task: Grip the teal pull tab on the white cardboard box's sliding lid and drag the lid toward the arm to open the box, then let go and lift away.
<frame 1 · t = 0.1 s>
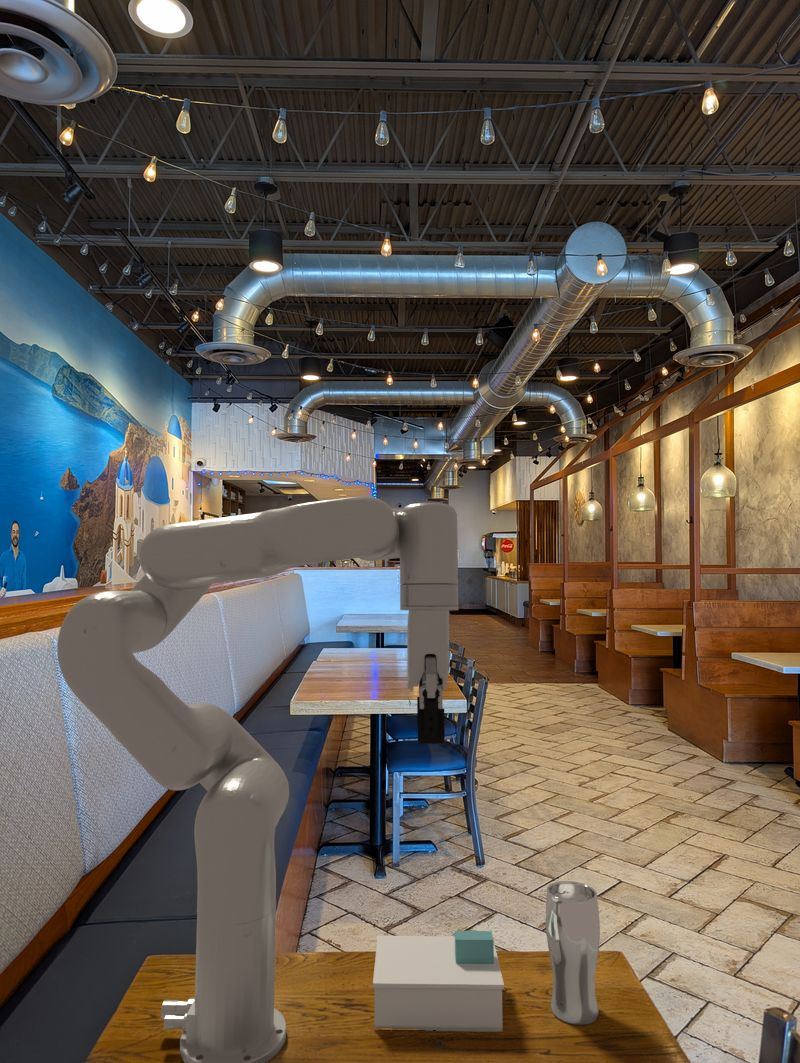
hand: (430, 734, 85), 37 cm above the table, tool pointing down, fingers open, 9 cm apart
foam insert: (451, 1004, 90), resting on mailer box
box lid: (436, 948, 90), point 7 cm above the table, slide at 0.0 cm
mailer box: (436, 1004, 90), on the table
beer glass: (574, 1012, 88), on the table
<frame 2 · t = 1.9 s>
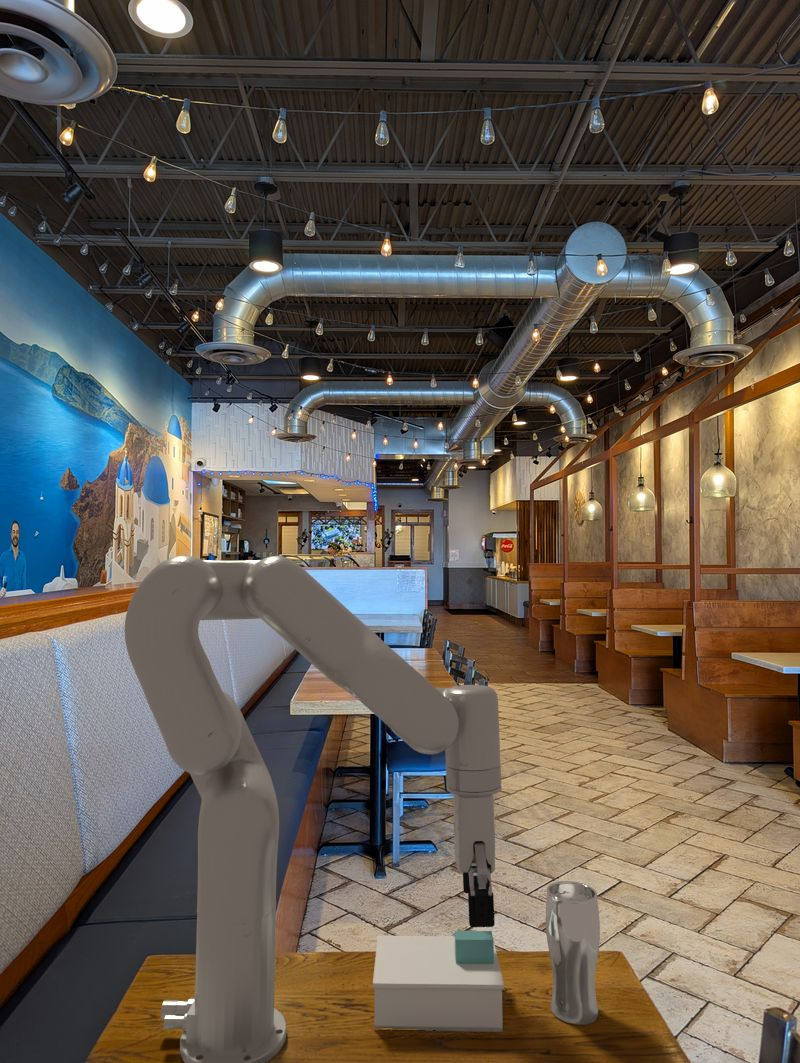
hand: (478, 908, 91), 12 cm above the table, tool pointing down, fingers open, 9 cm apart
nothing on the table moved.
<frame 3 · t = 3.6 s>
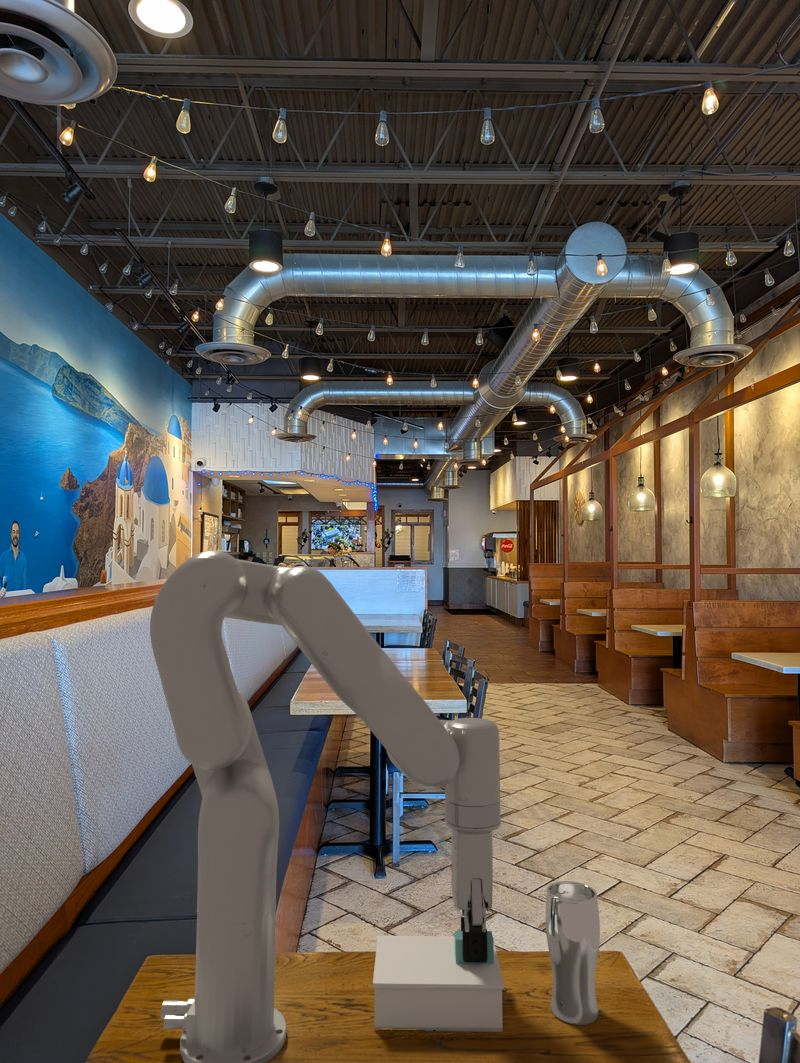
hand: (473, 953, 90), 6 cm above the table, tool pointing down, fingers closed on box lid, 2 cm apart
box lid: (436, 948, 90), point 7 cm above the table, slide at 0.0 cm, touching gripper
everything else where it was.
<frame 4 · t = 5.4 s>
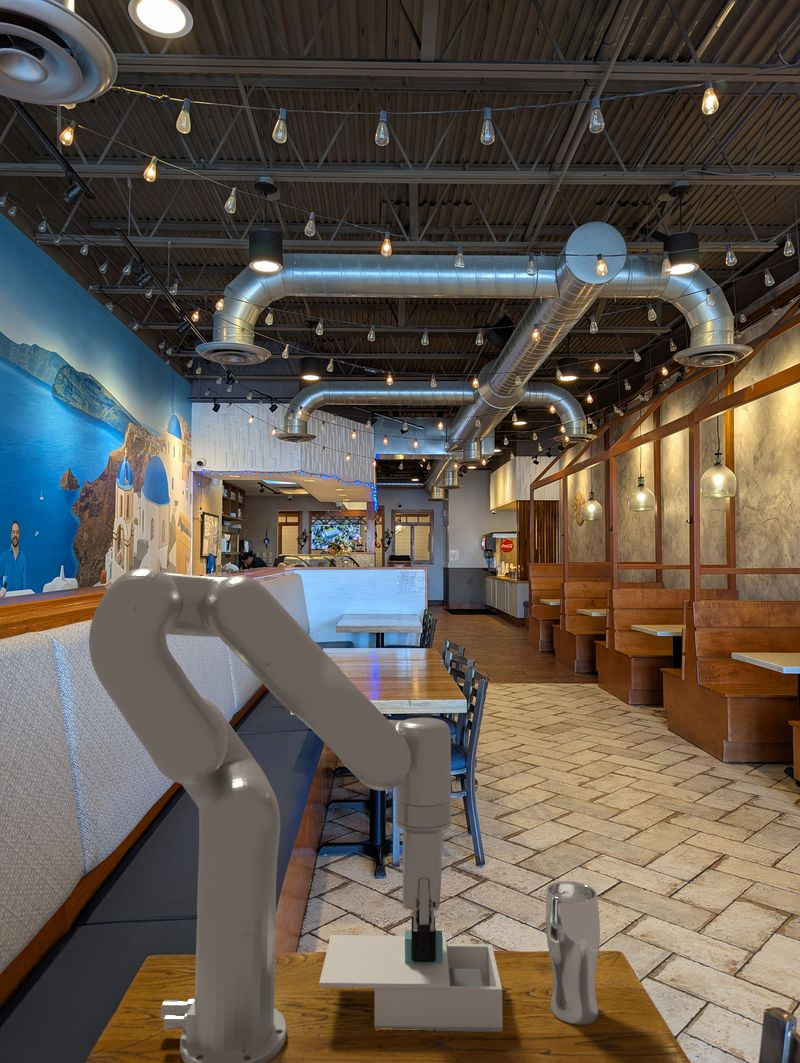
hand: (423, 953, 90), 6 cm above the table, tool pointing down, fingers closed on box lid, 2 cm apart
box lid: (386, 948, 90), point 7 cm above the table, slide at 6.7 cm, touching gripper
everything else where it was.
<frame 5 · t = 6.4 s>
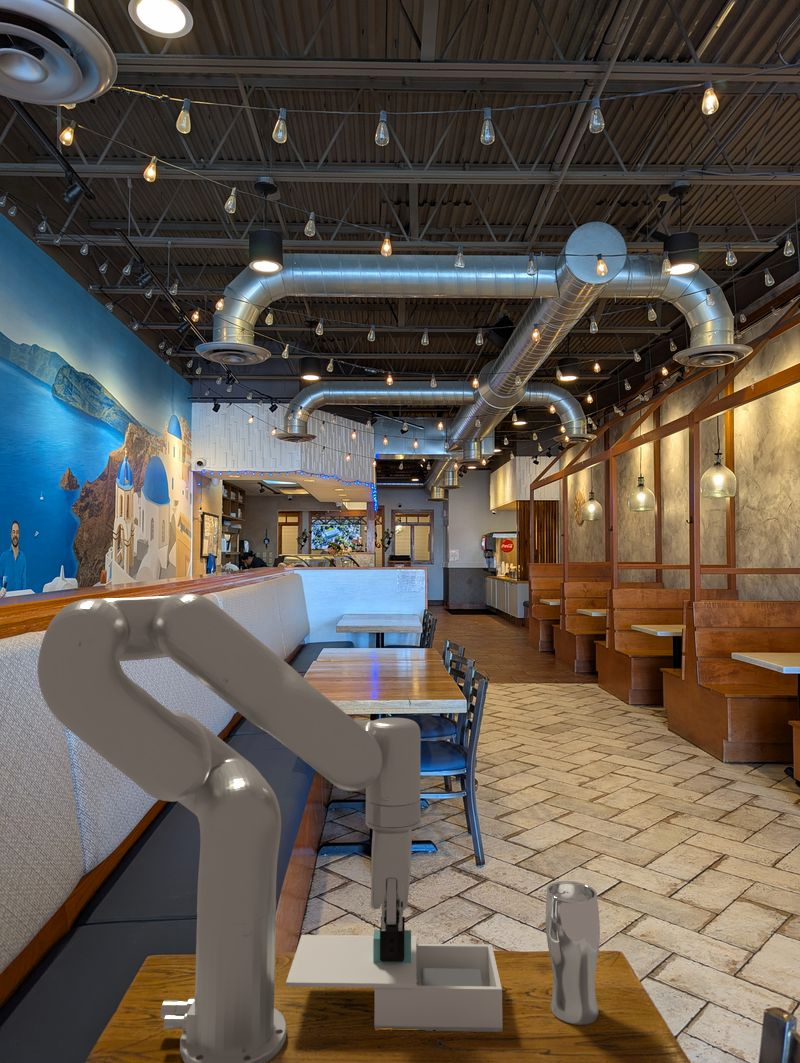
hand: (392, 952, 90), 6 cm above the table, tool pointing down, fingers closed on box lid, 2 cm apart
box lid: (355, 947, 90), point 7 cm above the table, slide at 10.9 cm, touching gripper
everything else where it was.
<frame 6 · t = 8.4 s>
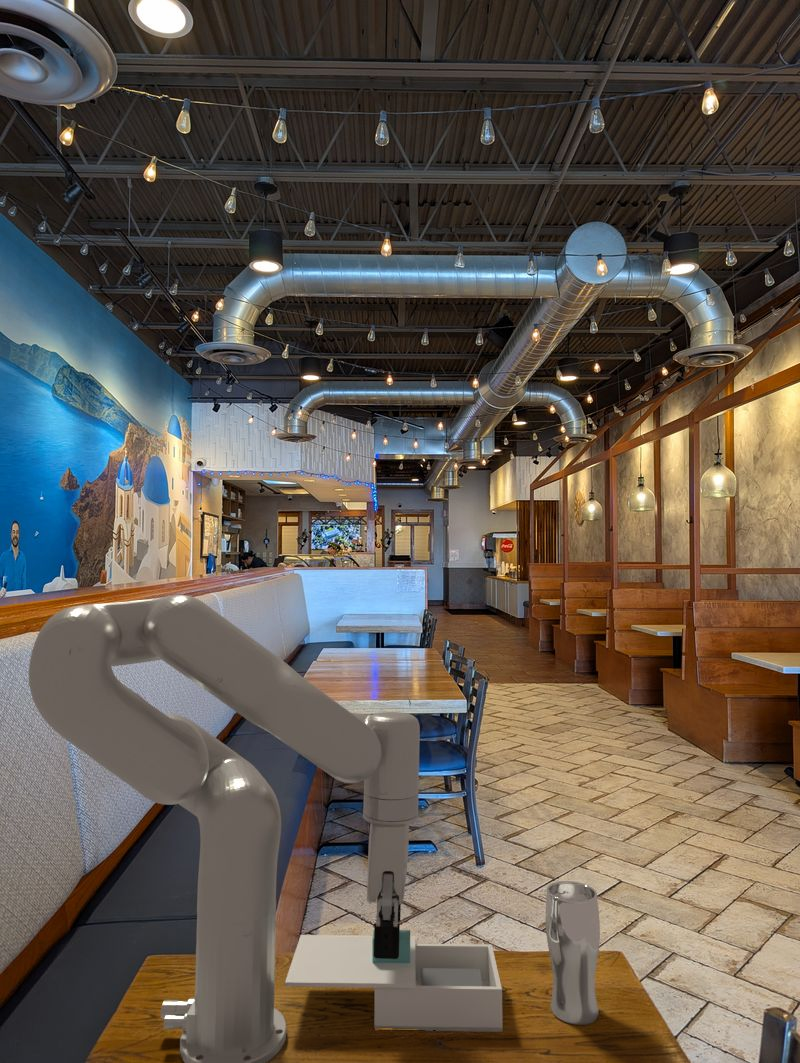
hand: (387, 938, 90), 8 cm above the table, tool pointing down, fingers open, 9 cm apart
box lid: (354, 947, 90), point 7 cm above the table, slide at 11.0 cm
everything else where it was.
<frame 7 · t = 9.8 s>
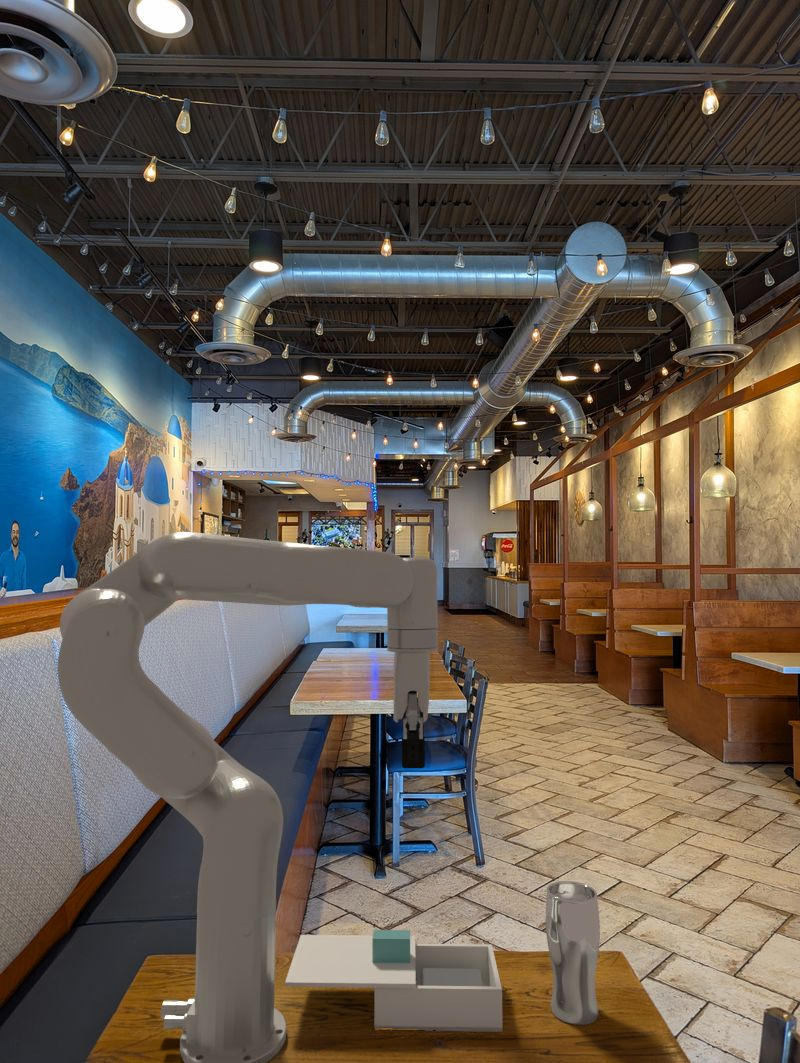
hand: (413, 759, 98), 30 cm above the table, tool pointing down, fingers open, 9 cm apart
nothing on the table moved.
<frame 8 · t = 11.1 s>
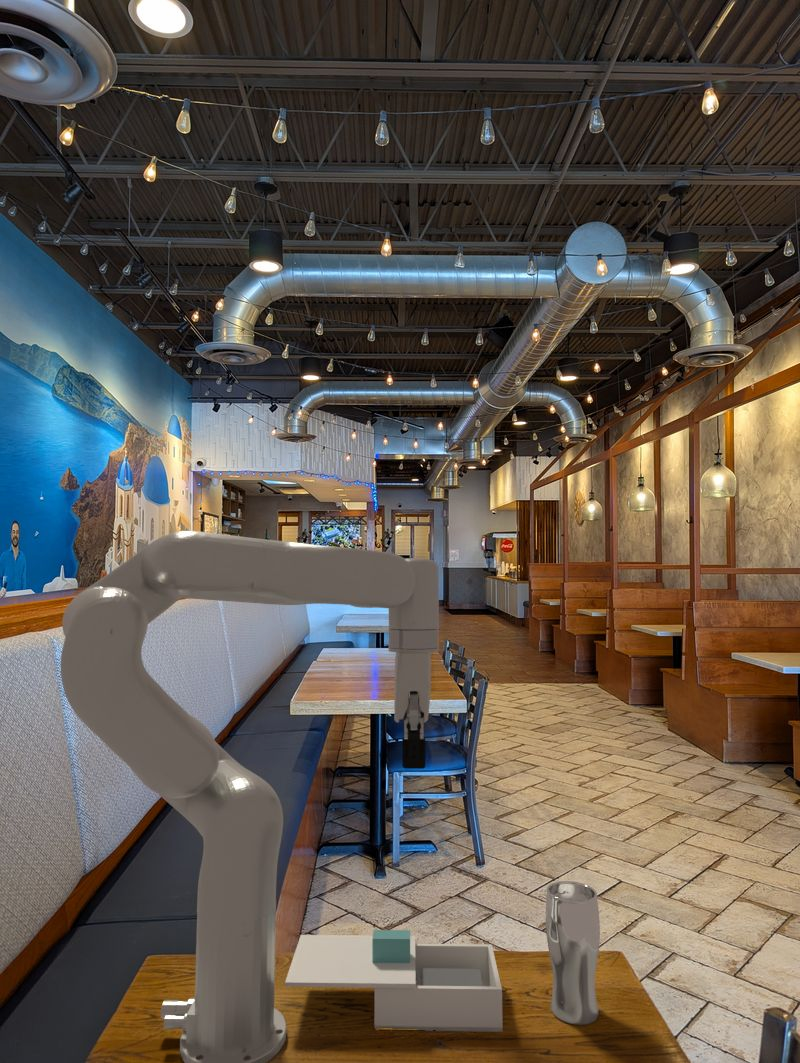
hand: (413, 759, 99), 30 cm above the table, tool pointing down, fingers open, 9 cm apart
nothing on the table moved.
at the end: box lid slide at 11.0 cm; the gripper is holding nothing; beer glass moved 0.2 cm from its start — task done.
